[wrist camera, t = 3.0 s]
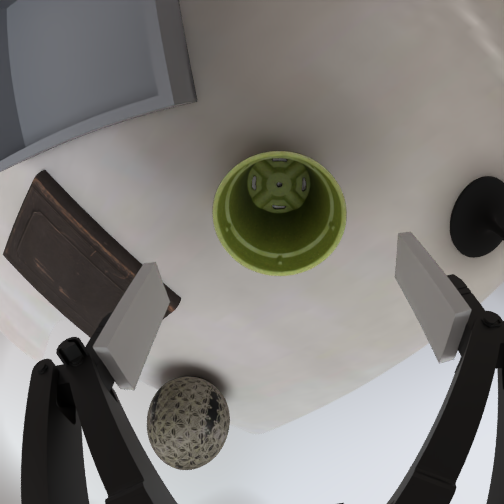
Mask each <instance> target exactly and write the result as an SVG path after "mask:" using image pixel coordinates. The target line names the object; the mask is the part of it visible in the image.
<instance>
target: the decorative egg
mask: <svg viewBox="0 0 504 504" xmlns="http://www.w3.org/2000/svg"><path fill="white" fill-rule="evenodd" d="M229 424H230V416H229V409H228V405H227V403H226V400H225V398H224V397H223V395H222V394H221V392H220V391H219V390H218V389H217V388H216V387H215V386H214V385H213V384H211V383H209V382H208V381H206V380H204V379H201V378H197V377H189V376H188V377H180V378H176V379H174V380H171V381H169V382H168V383H166V384H164V385H163V386H162V387H161V388H160V389H159V390H158V391H157V393H156V394H155V396H154V397H153V400H152V401H151V404H150V407H149V411H148V416H147V431H148V437H149V440H150V443H151V446H152V448H153V450H154V451H155V453H156V454H157V456H158V457H159V458H160V459H161V460H162V461H163V462H165V463H166V464H167V465H169V466H171V467H174V468H176V469H180V470H192V469H196V468H199V467H201V466H203V465H205V464H207V463H208V462H210V461H211V460H212V459H213V458H214V457H216V455H217V454H218V453H219V452H220V450H221V449H222V447H223V445H224V443H225V440H226V438H227V435H228V430H229Z"/></svg>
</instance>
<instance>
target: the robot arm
mask: <svg viewBox="0 0 504 504" xmlns="http://www.w3.org/2000/svg"><path fill="white" fill-rule="evenodd" d="M395 278H396V280H397V282H398V284H399V285H400V287H401V289H402V291H403V293H404V294H405V296H406V298H407V300H408V302H409V304H410V306H411V307H412V309H413V311H414V313H415V315H416V317H417V319H418V321H419V323H420V325H421V327H422V329H423V331H424V333H425V335H426V337H427V339H428V341H429V343H430V345H431V347H432V349H433V351H434V353H435V356H436V358H437V360H438V362H439V363H443V362H447V361H451V360H454V358H455V356H456V353H457V351H459V353H460V355H461V359H460V361H459V364H458V366H457V368H456V371H455V375H454V378H453V380H452V383H451V385H450V388H449V390H448V393H447V395H446V398H445V400H444V402H443V405H442V407H441V409H440V411H439V414H438V416H437V418H436V420H435V422H434V424H433V426H432V428H431V430H430V432H429V434H428V436H427V438H426V440H425V442H424V444H423V446H422V448H421V450H420V452H419V453H418V455H417V457H416V459H415V461H414V463H413V464H412V466H411V467H410V469H409V471H408V473H407V474H406V476H405V477H404V479H403V481H402V482H401V484H400V485H399V487H398V489H397V490H396V492H395V493H394V494H393V496H392V497H391V499H390V500H389V501H388V503H387V504H449V503H450V501H451V499H452V497H453V495H454V493H455V490H456V485H455V483H456V480H457V478H458V476H459V474H460V472H461V469H462V467H463V465H464V463H465V460H466V458H467V455H468V453H469V450H470V448H471V445H472V443H473V440H474V437H475V435H476V432H477V429H478V427H479V424H480V421H481V418H482V415H483V412H484V408H485V405H486V402H487V398H488V395H489V391H490V387H491V383H492V379H493V376H494V371H495V368H498V423H497V437H496V448H495V457H494V465H493V472H492V479H491V484H490V490H489V495H488V499H487V504H504V321H502V319H501V317H500V316H498V315H497V314H496V313H493V312H491V311H485V310H484V308H483V307H482V306H481V304H480V303H479V302H478V300H477V299H476V298H475V296H474V295H473V294H472V293H471V291H470V290H469V288H467V286H466V285H465V283H464V282H463V281H462V280H461V279H460V278H458V277H457V276H455V275H454V274H453V275H447V276H446V274H445V273H444V272H443V270H442V269H441V268H440V267H439V265H438V264H437V263H436V261H435V260H434V259H433V258H432V257H431V255H430V254H429V253H428V252H427V250H426V249H425V248H424V247H423V246H422V244H421V243H420V242H419V241H418V240H417V238H416V237H415V236H414V235H413V234H412V233H411V232H404V233H398V243H397V258H396V270H395ZM169 303H170V300H169V298H168V295H167V292H166V290H165V287H164V284H163V282H162V279H161V276H160V273H159V270H158V268H157V265H156V262H153V263H145V264H143V265H142V267H141V268H140V270H139V272H138V273H137V275H136V276H135V278H134V279H133V281H132V282H131V284H130V286H129V287H128V289H127V290H126V292H125V293H124V295H123V297H122V298H121V300H120V301H119V303H118V305H117V306H116V308H115V310H114V311H113V312H109V313H108V314H107V315H106V316H105V317H104V318H103V319H102V320H101V322H100V324H99V325H98V327H97V328H96V330H95V333H93V335H92V337H91V338H90V340H89V342H88V344H87V345H86V347H85V346H84V345H83V343H82V342H81V340H80V339H79V338H77V337H71V338H68V339H66V340H65V341H63V342H62V343H61V344H60V345H59V346H58V348H57V355H58V356H59V358H60V359H61V361H62V362H63V365H58V366H55V364H54V363H53V362H52V360H50V359H44V360H41V361H39V362H38V363H37V364H36V365H35V366H34V368H33V370H32V374H31V380H30V386H29V392H28V398H27V405H26V413H25V421H24V431H23V444H22V463H21V499H22V500H21V501H22V504H89V499H88V493H87V486H86V477H85V468H84V458H83V446H82V430H81V429H83V432H84V435H85V438H86V441H87V444H88V447H89V449H90V452H91V455H92V457H93V460H94V462H95V465H96V468H97V470H98V473H99V475H100V477H101V480H102V482H103V484H104V486H105V489H106V491H107V494H108V498H107V499H106V500H105V503H106V504H177V502H176V501H175V500H174V498H173V497H172V495H171V494H170V492H169V491H168V489H167V488H166V486H165V484H164V483H163V481H162V480H161V478H160V476H159V475H158V473H157V471H156V470H155V468H154V466H153V465H152V463H151V461H150V459H149V458H148V456H147V454H146V452H145V451H144V449H143V447H142V445H141V443H140V442H139V440H138V438H137V436H136V434H135V432H134V430H133V428H132V426H131V424H130V422H129V420H128V418H127V416H126V414H125V412H124V410H123V408H122V406H121V404H120V401H119V400H118V397H117V395H116V392H115V391H114V390H113V388H112V386H113V384H114V382H116V384H117V385H118V386H119V388H120V389H124V390H125V389H126V390H135V387H136V384H137V382H138V379H139V377H140V374H141V372H142V369H143V367H144V364H145V361H146V359H147V356H148V354H149V351H150V349H151V346H152V344H153V342H154V339H155V337H156V334H157V332H158V329H159V327H160V325H161V322H162V320H163V317H164V315H165V313H166V310H167V308H168V306H169ZM81 426H82V428H81ZM339 504H343V503H339Z"/></svg>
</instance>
